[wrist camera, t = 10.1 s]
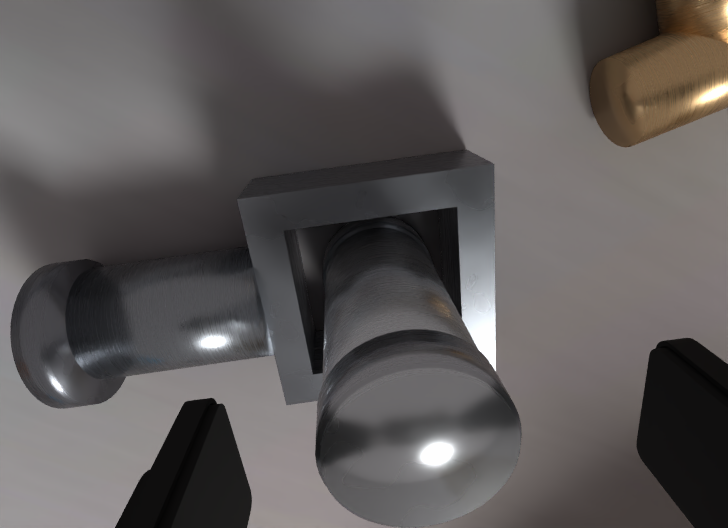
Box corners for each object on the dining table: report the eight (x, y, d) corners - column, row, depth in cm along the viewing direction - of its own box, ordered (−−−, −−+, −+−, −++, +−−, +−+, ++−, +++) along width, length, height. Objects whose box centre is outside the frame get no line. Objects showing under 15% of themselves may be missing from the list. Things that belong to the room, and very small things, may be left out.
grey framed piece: (466, 149, 16) (519, 177, 12) (472, 333, 20) (516, 411, 15) (62, 205, 16) (-44, 255, 12) (134, 381, 19) (72, 476, 15)
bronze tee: (597, 141, 17) (650, 153, 14) (565, -35, 14) (621, -61, 12) (784, 65, 16) (878, 62, 13) (782, -131, 14) (895, -184, 11)
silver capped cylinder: (422, 206, 17) (528, 354, 8) (429, 301, 19) (523, 514, 10) (315, 221, 17) (297, 387, 8) (331, 315, 19) (332, 543, 10)
